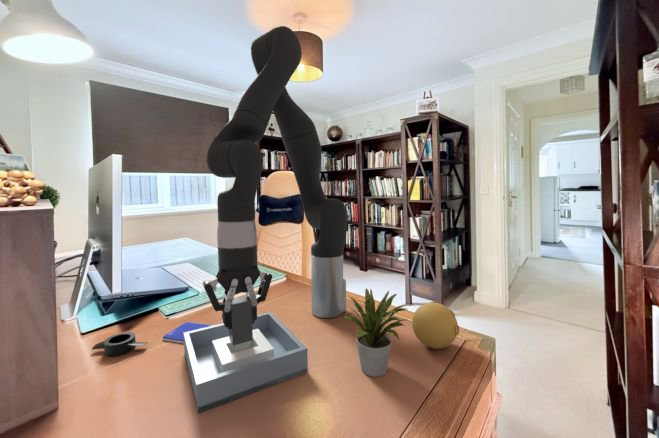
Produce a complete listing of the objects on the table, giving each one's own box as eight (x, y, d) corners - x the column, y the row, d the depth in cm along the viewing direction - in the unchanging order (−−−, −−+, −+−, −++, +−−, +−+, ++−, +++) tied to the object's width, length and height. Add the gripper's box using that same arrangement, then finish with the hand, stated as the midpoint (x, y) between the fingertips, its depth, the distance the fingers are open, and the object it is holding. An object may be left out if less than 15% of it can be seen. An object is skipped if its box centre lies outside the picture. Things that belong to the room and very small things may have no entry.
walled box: (271, 330, 75) (270, 311, 74) (307, 372, 58) (307, 348, 57) (184, 354, 64) (183, 332, 64) (198, 413, 48) (196, 384, 47)
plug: (248, 340, 63) (247, 295, 62) (252, 347, 61) (251, 300, 60) (229, 345, 61) (227, 299, 60) (233, 352, 59) (231, 304, 57)
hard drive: (162, 336, 70) (206, 343, 67) (186, 321, 78) (227, 326, 75) (162, 342, 71) (207, 349, 68) (187, 326, 78) (228, 332, 75)
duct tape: (127, 337, 72) (126, 326, 72) (151, 348, 68) (150, 336, 67) (89, 353, 65) (88, 341, 65) (113, 366, 61) (112, 352, 60)
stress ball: (424, 362, 63) (465, 341, 59) (398, 320, 66) (435, 297, 62) (434, 348, 71) (470, 328, 67) (410, 311, 75) (443, 291, 71)
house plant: (395, 409, 48) (397, 314, 46) (324, 380, 55) (324, 297, 54) (418, 364, 60) (421, 288, 58) (358, 346, 68) (358, 277, 66)
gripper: (265, 237, 65) (267, 311, 67) (196, 243, 58) (200, 326, 60) (278, 242, 59) (279, 324, 61) (202, 250, 52) (206, 342, 54)
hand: (240, 324), depth 60 cm, fingers closed on plug, 4 cm apart
